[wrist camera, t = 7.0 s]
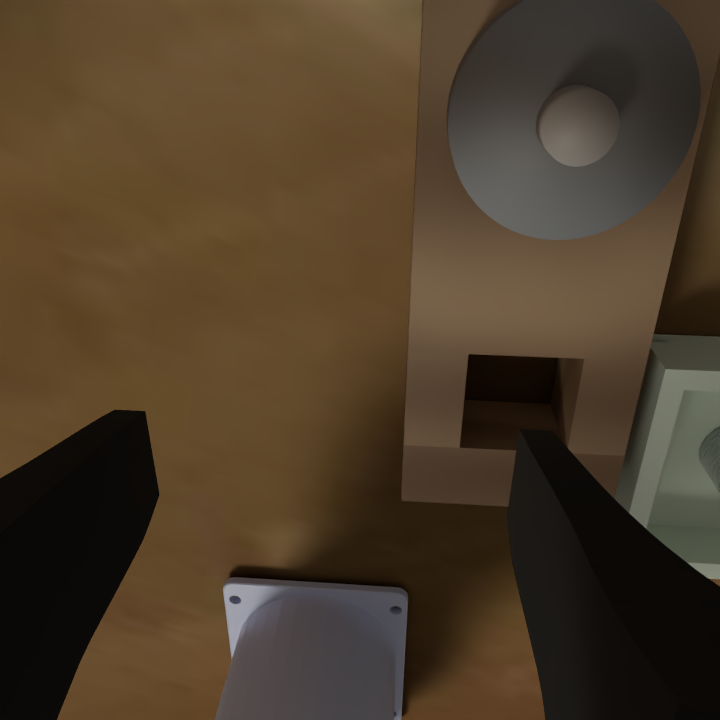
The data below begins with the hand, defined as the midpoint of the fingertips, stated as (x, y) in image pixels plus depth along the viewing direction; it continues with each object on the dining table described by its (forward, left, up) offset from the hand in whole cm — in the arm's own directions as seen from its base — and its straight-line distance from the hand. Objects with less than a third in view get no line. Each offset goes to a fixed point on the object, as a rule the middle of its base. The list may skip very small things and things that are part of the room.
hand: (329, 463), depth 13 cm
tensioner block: (+1, -5, -10) cm, 12 cm away
